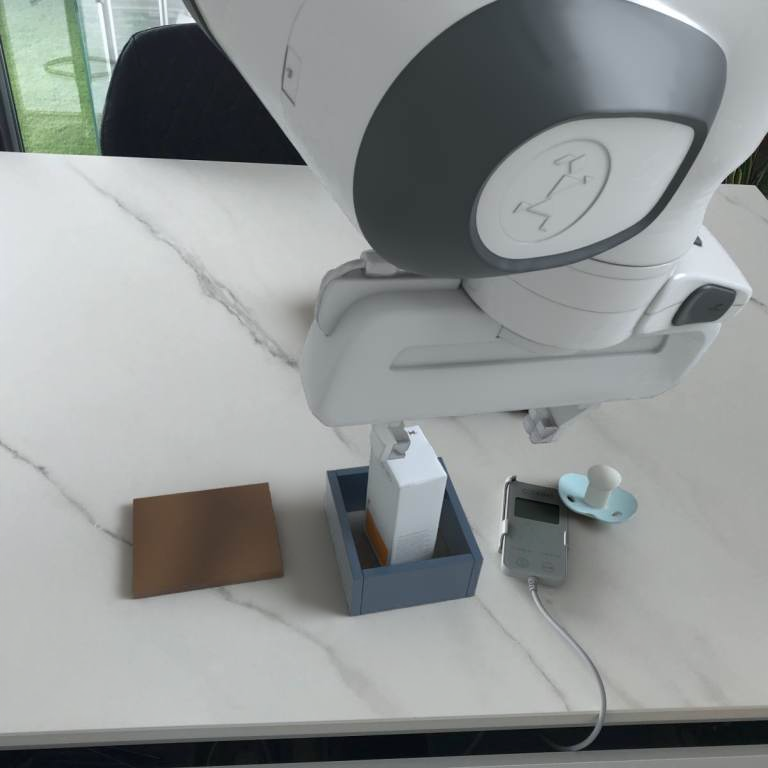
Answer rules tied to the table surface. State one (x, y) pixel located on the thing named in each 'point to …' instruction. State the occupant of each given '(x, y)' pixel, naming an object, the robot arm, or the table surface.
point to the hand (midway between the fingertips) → (464, 441)
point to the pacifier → (598, 495)
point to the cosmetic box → (405, 503)
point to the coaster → (204, 540)
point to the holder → (407, 579)
